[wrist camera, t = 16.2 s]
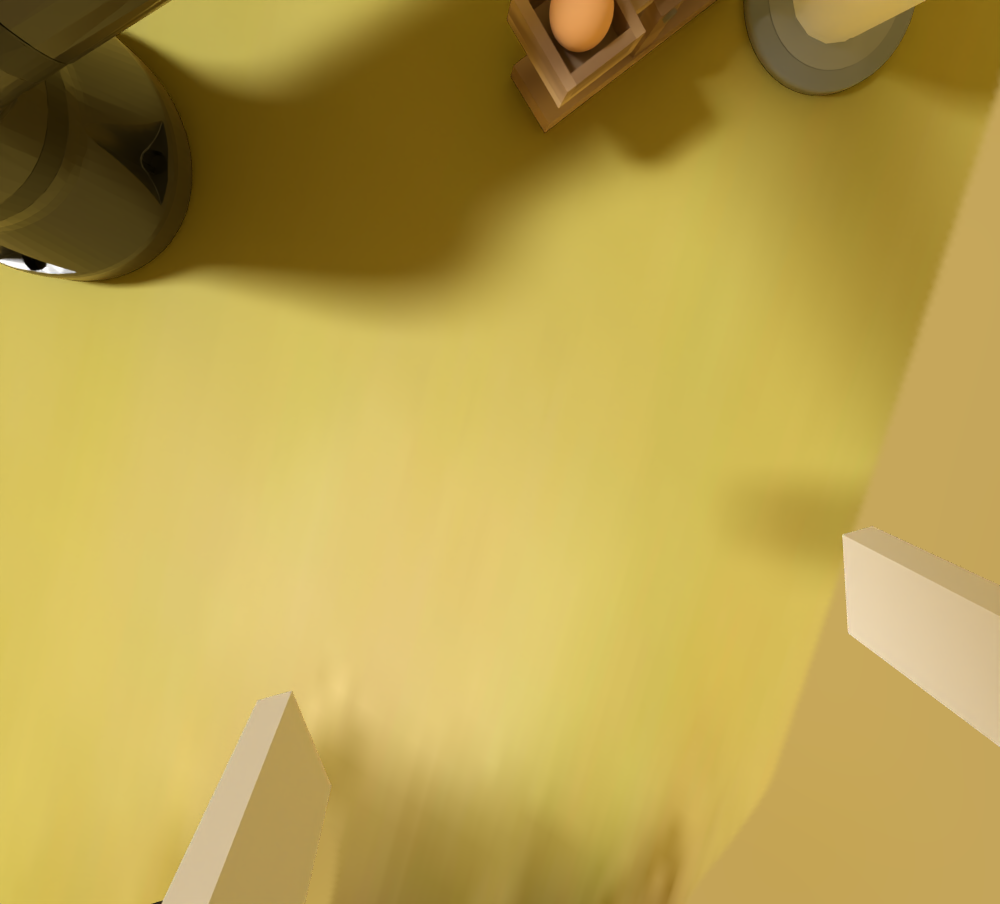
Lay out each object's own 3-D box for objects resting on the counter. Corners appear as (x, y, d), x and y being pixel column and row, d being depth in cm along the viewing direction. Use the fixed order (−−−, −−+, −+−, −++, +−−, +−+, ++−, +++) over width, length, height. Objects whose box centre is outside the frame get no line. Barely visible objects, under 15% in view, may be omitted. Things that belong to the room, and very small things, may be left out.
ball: (531, 19, 27) (543, -21, 24) (581, -20, 27) (599, -66, 24) (565, 77, 28) (581, 45, 25) (613, 40, 28) (635, 3, 24)
